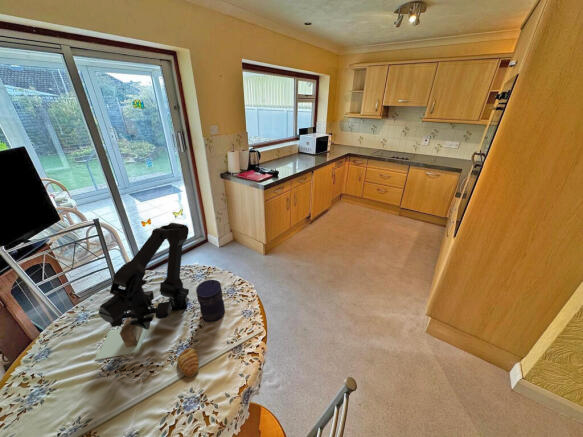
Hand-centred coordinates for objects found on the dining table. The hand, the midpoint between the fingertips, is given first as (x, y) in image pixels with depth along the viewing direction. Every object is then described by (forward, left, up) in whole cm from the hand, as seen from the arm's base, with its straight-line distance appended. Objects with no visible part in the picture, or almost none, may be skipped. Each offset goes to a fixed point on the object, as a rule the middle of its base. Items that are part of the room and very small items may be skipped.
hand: (148, 328), depth 90 cm
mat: (+10, 0, -4) cm, 11 cm away
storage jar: (-23, -6, -5) cm, 25 cm away
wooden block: (+6, 0, -4) cm, 7 cm away
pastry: (-16, +14, -5) cm, 22 cm away
